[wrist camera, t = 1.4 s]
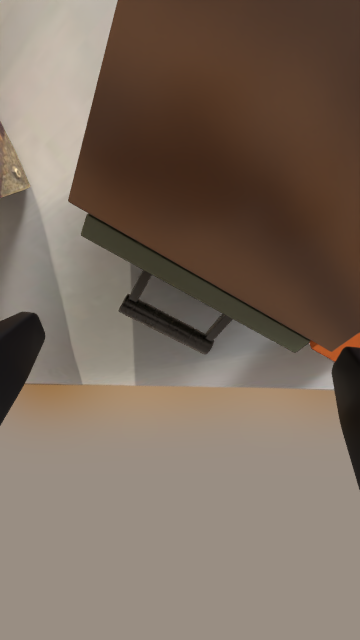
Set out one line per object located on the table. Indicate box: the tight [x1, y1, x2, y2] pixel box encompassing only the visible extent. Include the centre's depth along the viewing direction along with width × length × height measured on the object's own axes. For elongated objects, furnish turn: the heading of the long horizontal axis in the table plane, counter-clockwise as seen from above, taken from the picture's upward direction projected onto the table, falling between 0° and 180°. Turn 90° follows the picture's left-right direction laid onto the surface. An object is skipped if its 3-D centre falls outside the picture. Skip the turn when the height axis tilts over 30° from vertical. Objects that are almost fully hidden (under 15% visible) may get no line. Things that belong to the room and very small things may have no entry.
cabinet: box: [68, 0, 360, 352], centre depth 11 cm, size 16×15×9 cm
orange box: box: [309, 333, 360, 362], centre depth 22 cm, size 5×7×3 cm
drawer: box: [81, 213, 310, 354], centre depth 14 cm, size 20×13×7 cm
